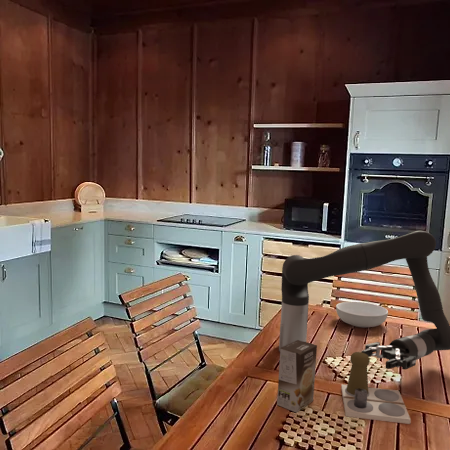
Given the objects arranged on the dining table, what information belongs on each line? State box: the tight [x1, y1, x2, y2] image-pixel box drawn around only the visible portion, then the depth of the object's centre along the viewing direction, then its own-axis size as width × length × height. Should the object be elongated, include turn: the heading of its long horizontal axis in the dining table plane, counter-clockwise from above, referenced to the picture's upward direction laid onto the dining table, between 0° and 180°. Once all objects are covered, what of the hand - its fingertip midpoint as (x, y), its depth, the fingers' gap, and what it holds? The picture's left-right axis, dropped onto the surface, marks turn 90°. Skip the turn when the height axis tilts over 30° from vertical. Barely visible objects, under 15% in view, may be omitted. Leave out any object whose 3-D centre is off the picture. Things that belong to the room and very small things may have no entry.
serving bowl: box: [335, 301, 389, 329], centre depth 197 cm, size 21×21×7 cm
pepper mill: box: [346, 351, 370, 395], centre depth 133 cm, size 6×6×11 cm
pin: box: [354, 388, 368, 409], centre depth 126 cm, size 3×3×4 cm
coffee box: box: [276, 340, 318, 413], centre depth 128 cm, size 9×6×16 cm
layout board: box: [340, 383, 412, 425], centre depth 129 cm, size 16×16×1 cm
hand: (374, 360), depth 136 cm, fingers open, 8 cm apart
